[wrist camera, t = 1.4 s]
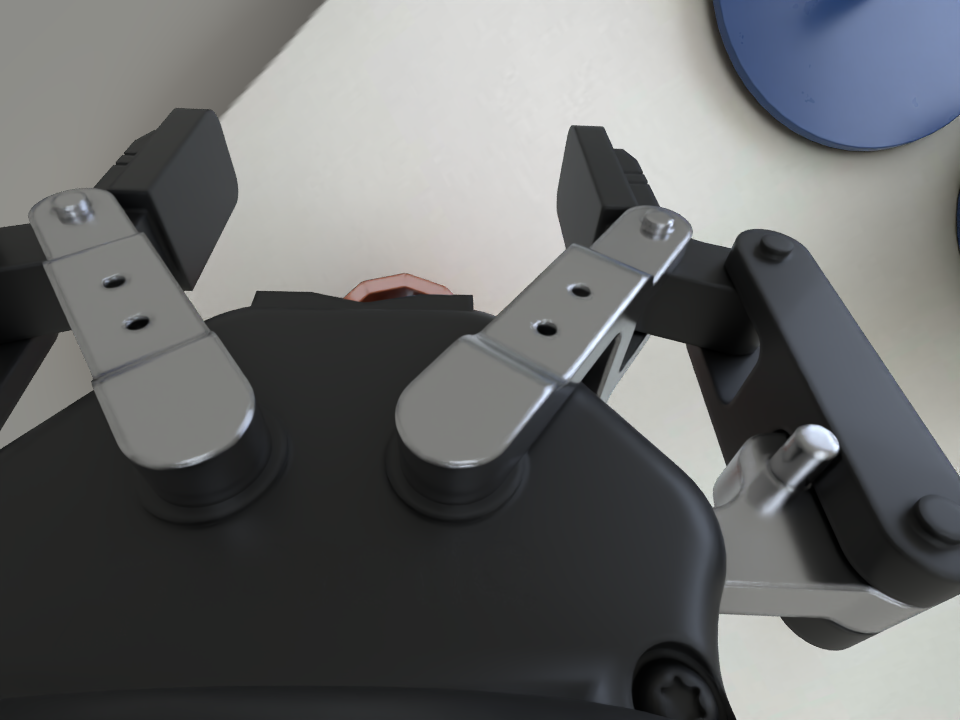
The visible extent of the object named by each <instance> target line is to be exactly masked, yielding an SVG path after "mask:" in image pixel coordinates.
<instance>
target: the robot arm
mask: <svg viewBox="0 0 960 720" xmlns="http://www.w3.org/2000/svg"><path fill="white" fill-rule="evenodd" d="M124 154H125V155H122V156H121V157H120V158H119V159H118V160H117V162H116V165H113V166H112V167H111V168H110V170H109V171H108V172H107V173H106V174H105V175H104V176H103V177H102V179H101V180H100V181H99V182H98V183H97V184H96V185H95V187H94V188H79V189H72V190H67V191H63V192H59V193H56V194H53V195H51V196H49V197H46V198H44V199H43V200H41V201H39V202H38V203H37V204H35V205H34V206H33V207H32V208H31V210H30V212H29V214H28V218H29V221H30V223H29V224H23V225H16V226H8V227H2V228H0V430H1V428H2V427H3V425H4V424H5V422H6V420H7V419H8V417H9V415H10V414H11V412H12V411H13V409H14V407H15V406H16V404H17V402H18V401H19V399H20V398H21V396H22V394H23V393H24V391H25V389H26V388H27V386H28V385H29V383H30V381H31V380H32V378H33V376H34V375H35V373H36V372H37V370H38V368H39V367H40V365H41V363H42V362H43V360H44V358H45V357H46V355H47V353H48V352H49V350H50V349H51V347H52V345H53V344H54V342H55V340H56V339H57V336H58V333H59V332H64V331H69V330H72V331H73V334H74V336H75V338H76V340H77V343H78V345H79V347H80V349H81V351H82V354H83V356H84V358H85V361H86V363H87V365H88V367H89V369H90V372H91V374H92V377H93V380H92V381H91V382H92V386H93V389H94V390H93V391H91V392H90V393H88V394H87V395H85V396H84V397H82V398H80V399H79V400H77V401H76V402H74V403H72V404H71V405H69V406H68V407H67V408H65V409H63V410H62V411H60V412H58V413H57V414H55V415H54V416H52V417H51V418H49V419H47V420H46V421H44V422H43V423H41V424H39V425H38V426H36V427H35V428H33V429H32V430H30V431H28V432H27V433H25V434H24V435H22V436H20V437H19V438H17V439H16V440H14V441H13V442H11V443H9V444H8V445H6V446H5V447H3V448H2V449H0V720H736V718H735V715H734V713H733V711H732V708H731V706H730V704H729V701H728V698H727V696H726V693H725V689H724V686H723V682H722V677H721V672H720V665H719V653H718V618H719V614H735V615H759V616H780V617H781V619H782V620H783V621H784V623H785V624H786V625H787V626H788V627H789V628H790V629H791V630H792V631H793V632H794V633H795V634H796V635H798V636H799V637H800V638H802V639H803V640H805V641H806V642H808V643H810V644H812V645H814V646H816V647H819V648H822V649H826V650H844V649H846V648H849V647H851V646H853V645H855V644H857V643H859V642H862V641H864V640H866V639H868V638H870V637H872V636H874V635H876V634H878V633H880V632H882V631H884V630H886V629H888V628H891V627H893V626H895V625H897V624H899V623H901V622H903V621H905V620H907V619H909V618H911V617H913V616H915V615H918V614H920V613H922V612H924V611H926V610H928V609H930V608H932V607H934V606H936V605H938V604H940V603H942V602H945V601H947V600H949V599H951V598H953V597H955V596H957V595H959V594H960V477H959V475H958V474H957V472H956V471H955V469H954V468H953V466H952V465H951V463H950V462H949V460H948V459H947V457H946V456H945V454H944V453H943V451H942V450H941V448H940V447H939V445H938V444H937V442H936V441H935V439H934V438H933V436H932V435H931V433H930V432H929V430H928V429H927V427H926V426H925V424H924V423H923V421H922V420H921V418H920V417H919V415H918V414H917V412H916V411H915V409H914V408H913V406H912V405H911V403H910V402H909V400H908V399H907V397H906V396H905V394H904V393H903V391H902V390H901V388H900V387H899V385H898V384H897V382H896V381H895V379H894V378H893V376H892V375H891V373H890V372H889V370H888V369H887V367H886V366H885V364H884V363H883V361H882V360H881V358H880V357H879V355H878V354H877V352H876V351H875V349H874V348H873V346H872V345H871V343H870V342H869V341H868V339H867V338H866V336H865V335H864V333H863V332H862V330H861V329H860V327H859V326H858V324H857V323H856V321H855V320H854V318H853V317H852V315H851V314H850V312H849V311H848V309H847V308H846V306H845V305H844V303H843V302H842V300H841V299H840V297H839V296H838V294H837V293H836V291H835V290H834V288H833V287H832V285H831V284H830V282H829V281H828V279H827V278H826V276H825V275H824V273H823V272H822V270H821V269H820V267H819V266H818V264H817V263H816V261H815V260H814V258H813V257H812V255H811V254H810V252H809V251H808V250H807V249H806V248H805V247H804V246H803V245H802V244H801V243H799V242H798V241H796V240H795V239H793V238H791V237H789V236H787V235H784V234H782V233H779V232H775V231H771V230H764V229H752V230H747V231H744V232H742V233H740V234H739V235H738V236H737V238H736V240H735V242H734V244H733V246H732V248H727V247H722V246H718V245H713V244H708V243H704V242H700V241H697V240H694V239H692V238H691V236H692V233H693V230H692V227H691V224H690V223H689V222H688V221H687V220H686V219H685V218H684V217H682V216H681V215H680V214H678V213H676V212H674V211H671V210H669V209H666V208H662V207H660V206H659V204H658V202H657V200H656V198H655V196H654V194H653V192H652V190H651V188H650V186H649V184H647V183H648V182H647V180H646V177H645V175H644V174H643V171H642V169H641V167H640V165H639V163H638V161H637V160H636V159H635V158H634V157H632V156H631V155H630V154H629V153H627V152H626V151H625V150H623V149H613V147H612V144H611V142H610V140H609V138H608V135H607V133H606V131H605V129H604V127H601V126H577V125H572V126H571V127H570V129H569V132H568V136H567V141H566V146H565V152H564V157H563V163H562V168H561V174H560V179H559V185H558V191H557V214H558V218H559V222H560V226H561V230H562V234H563V238H564V242H565V247H566V250H565V251H564V252H563V253H562V254H561V255H560V256H559V257H558V258H557V259H555V260H554V261H553V262H552V263H551V264H550V265H549V266H548V267H547V268H546V269H545V270H544V271H543V272H542V273H541V274H540V275H539V276H538V277H537V278H536V279H535V280H534V281H533V282H532V283H531V284H529V285H528V286H527V287H526V288H525V289H524V290H523V291H522V292H521V293H520V294H519V295H518V296H517V297H516V298H515V299H514V300H513V301H512V302H511V303H510V304H509V305H508V306H507V307H506V308H505V309H503V310H502V311H501V312H500V313H499V314H498V315H497V316H494V315H491V314H488V313H485V312H481V311H477V310H473V295H442V294H418V295H412V296H405V297H399V298H392V299H386V300H379V301H373V302H358V301H353V300H348V299H343V298H338V297H333V296H328V295H323V294H318V293H313V292H282V291H256V294H255V297H254V299H253V302H252V305H251V306H250V307H245V308H240V309H236V310H232V311H229V312H226V313H223V314H219V315H217V316H215V317H212V318H210V319H207V320H205V321H203V319H202V318H201V316H200V315H199V313H198V312H197V310H196V309H195V307H194V306H193V305H192V303H191V302H190V300H189V299H188V297H187V296H186V294H185V293H184V291H193V289H194V287H195V285H196V283H197V281H198V279H199V277H200V275H201V273H202V271H203V269H204V267H205V265H206V263H207V261H208V259H209V257H210V255H211V253H212V251H213V249H214V247H215V245H216V243H217V241H218V239H219V237H220V235H221V233H222V231H223V229H224V227H225V225H226V223H227V221H228V219H229V217H230V215H231V213H232V211H233V209H234V207H235V205H236V203H237V200H238V183H237V178H236V174H235V171H234V167H233V164H232V161H231V157H230V154H229V151H228V148H227V144H226V141H225V138H224V134H223V131H222V128H221V124H220V122H219V119H218V117H217V115H216V114H215V112H214V111H212V110H209V109H185V108H176V109H174V110H173V111H172V112H171V113H170V114H169V115H168V117H167V118H166V119H165V120H164V121H163V123H162V124H161V125H160V126H159V128H157V130H154V131H152V132H150V133H148V134H146V135H144V136H142V137H140V138H139V139H137V140H135V141H134V142H133V143H132V144H131V145H130V147H129V148H128V149H127V150H126V151H125V152H124ZM650 335H654V336H658V337H662V338H666V339H670V340H674V341H678V342H682V343H686V347H687V350H688V353H689V356H690V359H691V362H692V365H693V368H694V371H695V374H696V377H697V380H698V383H699V386H700V389H701V392H702V395H703V398H704V401H705V404H706V407H707V410H708V413H709V416H710V419H711V422H712V425H713V427H714V430H715V433H716V436H717V439H718V442H719V445H720V448H721V451H722V454H723V457H724V460H725V463H726V466H727V467H726V468H725V469H724V470H723V472H722V473H721V474H720V476H719V477H718V478H717V480H716V482H715V484H714V488H713V499H714V506H715V507H713V508H712V506H711V505H710V503H709V501H708V500H707V498H706V497H705V495H704V493H703V492H702V491H701V490H700V488H699V487H698V486H697V485H696V484H695V482H694V481H693V480H692V479H691V478H690V477H689V476H688V475H687V474H686V473H685V472H684V471H683V470H682V469H681V468H679V467H678V466H677V465H676V464H675V463H674V462H673V461H671V460H670V459H669V458H668V457H667V456H666V455H665V454H663V453H662V452H661V451H660V450H659V449H658V448H657V447H655V446H654V445H653V444H652V443H651V442H650V441H648V440H647V439H646V438H645V437H644V436H643V435H642V434H640V433H639V432H638V431H637V430H636V429H635V428H634V427H632V426H631V425H630V424H629V423H628V422H627V421H626V420H624V419H623V418H622V417H621V416H620V415H619V414H618V413H616V412H615V411H614V410H613V409H612V408H611V407H610V406H608V405H607V404H606V403H607V401H608V399H609V397H610V395H611V394H612V392H613V390H614V388H615V387H616V385H617V384H618V382H619V381H620V379H621V378H622V377H623V375H624V374H625V372H626V371H627V369H628V368H629V367H630V365H631V364H632V362H633V361H634V359H635V358H636V356H637V355H638V354H639V352H640V351H641V349H642V348H643V346H644V345H645V344H646V342H647V341H648V339H649V337H650Z"/></svg>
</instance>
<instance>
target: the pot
mask: <svg viewBox="0 0 960 720" xmlns="http://www.w3.org/2000/svg"><path fill="white" fill-rule="evenodd" d="M957 236H958V243H959V249H960V191H959V197H958V207H957Z"/></svg>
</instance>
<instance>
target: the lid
mask: <svg viewBox="0 0 960 720" xmlns="http://www.w3.org/2000/svg"><path fill="white" fill-rule="evenodd" d="M713 5H714V10H715V15H716V20H717V24H718V28H719V31H720V34H721V37H722V40H723V43H724V46H725V49H726V51H727V53H728V56H729V58H730V60H731V62H732V64H733V66H734V68H735V70H736V72H737V73H738V75H739V76H740V78H741V80H742V81H743V83H744V84H745V86H746V88H747V89H748V90H749V91H750V93H751V94H752V95H753V96H754V97H755V99H756V100H757V101H758V102H759V103H760V105H761V106H762V107H763V108H765V109H766V110H767V111H768V112H769V113H770V114H771V115H772V116H773V117H774V118H775V119H776V120H778V121H779V122H781V123H782V124H783V125H785V126H786V127H788V128H789V129H791V130H792V131H794V132H795V133H797V134H799V135H801V136H803V137H805V138H807V139H809V140H811V141H814V142H817V143H820V144H823V145H826V146H828V147H833V148H838V149H843V150H849V151H875V150H884V149H890V148H894V147H898V146H901V145H905V144H908V143H911V142H914V141H916V140H919V139H921V138H923V137H926V136H928V135H930V134H932V133H934V132H936V131H937V130H939V129H941V128H942V127H944V126H946V125H947V124H949V123H950V122H951V121H953V120H954V119H955V118H956V117H958V116H959V115H960V0H713Z"/></svg>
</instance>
